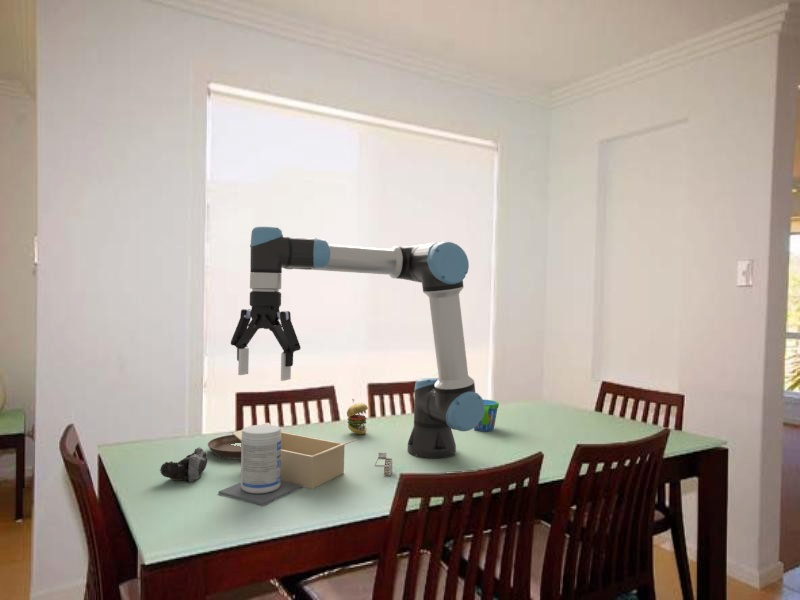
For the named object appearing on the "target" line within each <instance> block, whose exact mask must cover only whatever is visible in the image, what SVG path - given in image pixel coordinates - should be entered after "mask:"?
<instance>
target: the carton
mask: <svg viewBox="0 0 800 600" xmlns="http://www.w3.org/2000/svg"><path fill="white" fill-rule="evenodd" d="M260 425H272V424H270V423H269V422H265V423H261V424H260ZM242 430H243V429H241V430H237V431H234V432H231V433H232V434H231V435H234V436H236V437H237V438H238V439H239V440H240V441H242ZM355 441H358V438H355V439H352V440H350V441H347V442H344V443H341V442H337V441H332V440H328V439H327V440H326V439H323V438H322V439H320V438H315V437H312V436H311V437H310V436H306V435H299V434H294V433H289V432H284V431H281V480H282V481H286V482H290V483H294V484H298V485H301V487H304V488H309V489H314V488H316V487H318V486H320V485H322V484H324V483H326V482H328V481H330V480H332V479H334V478H337V477H338V476H340V475H344V473H345V470H344V469H345V445H348V444H351V443H353V442H355Z"/></svg>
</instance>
